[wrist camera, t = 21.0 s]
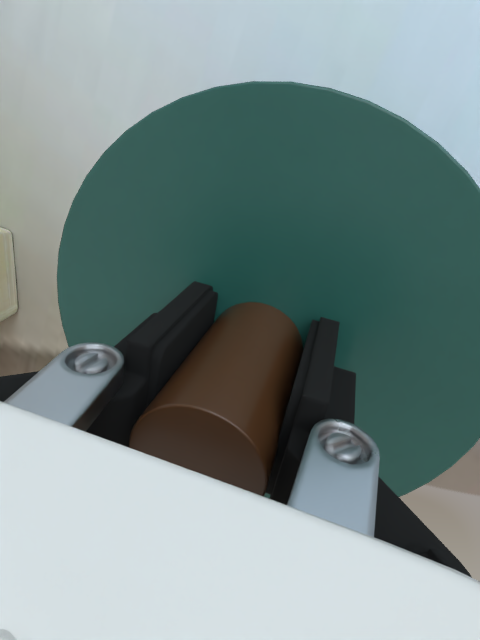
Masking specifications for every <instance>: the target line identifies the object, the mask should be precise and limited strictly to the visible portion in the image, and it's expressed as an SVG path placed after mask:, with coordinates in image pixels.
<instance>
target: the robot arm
mask: <svg viewBox="0 0 480 640" xmlns="http://www.w3.org/2000/svg"><path fill="white" fill-rule="evenodd" d="M217 299H218V293H217V292H214V291H213V287H212V286H210V285H207V284H203V283H200V282H196V281H194V282H192V283H191V284H190V285H189V286H188V287H187V288H186V289H184V290H183V291H182V292H181V293H180V294H179V295H178V296H177V297H175V298H174V299H173V300H172V301H171V302H170V303H169V304H167V305H166V306H165V307H164V308H163V309H162V310H161V311H159V312H158V313H153V314H151V315H150V316H149V317H148V318H147V319H145V320H144V321H143V322H142V323H141V324H140V325H138V326H137V327H136V328H135V329H134V330H133V331H132V332H130V333H129V334H128V335H127V336H126V337H125V338H123V339H122V340H121V341H120V342H119V343H118V344H116V345H115V346H114V347H113V346H110V345H107V344H103V343H81V344H77V345H74V346H71V347H69V348H67V349H65V350H64V351H62V352H61V353H60V354H59V355H58V356H57V357H55V358H54V359H53V360H52V361H51V362H50V363H48V364H47V365H46V366H45V367H44V368H43V369H41V370H40V371H38V372H31V373H24V374H17V375H10V376H3V377H0V640H480V581H477V580H475V579H473V578H472V577H471V575H470V574H469V572H468V571H467V570H466V569H465V567H464V566H463V565H462V564H461V562H460V561H459V560H458V559H457V558H456V557H455V556H454V555H453V554H452V553H451V552H450V551H449V550H448V549H447V548H446V547H445V546H444V544H442V542H441V541H440V540H438V538H437V537H436V536H435V535H434V534H433V533H432V532H431V531H430V530H429V529H428V528H427V527H426V526H425V525H424V523H422V521H420V519H419V518H418V517H417V516H416V515H415V514H414V513H413V512H412V511H411V510H410V509H409V508H408V507H407V506H406V505H405V504H404V503H403V501H401V499H400V498H399V497H398V496H397V495H396V494H395V493H394V492H393V491H392V490H391V489H390V488H389V487H388V486H387V485H386V484H385V483H384V482H383V480H382V479H381V478H380V477H379V476H378V474H379V461H380V454H379V448H378V447H377V445H376V443H375V441H374V440H373V439H372V438H371V436H370V435H369V434H368V433H367V432H365V431H364V430H362V429H361V428H360V427H358V426H356V425H354V419H355V390H356V373H355V372H352V371H348V370H345V369H342V368H338V367H335V366H334V362H335V354H336V347H337V339H338V331H339V324H340V322H338V321H334V320H331V319H327V318H324V317H321V318H320V321H316V320H313V319H312V322H311V325H310V329H309V332H308V336H307V339H306V342H305V346H304V349H303V352H302V356H301V360H300V363H299V367H298V370H297V374H296V377H295V381H294V384H293V388H292V392H291V395H290V399H289V402H288V406H287V409H286V413H285V416H284V420H283V424H282V427H281V431H280V434H279V442H278V449H277V452H276V456H275V460H274V463H273V467H272V471H271V474H270V478H269V482H268V485H267V489H266V493H267V494H270V498H266V497H263V496H261V495H258V494H255V493H253V492H250V491H247V490H244V489H242V488H239V487H236V486H233V485H231V484H228V483H225V482H222V481H220V480H217V479H214V478H211V477H209V476H206V475H203V474H200V473H198V472H195V471H192V470H189V469H186V468H184V467H181V466H178V465H175V464H173V463H170V462H167V461H164V460H162V459H159V458H156V457H153V456H151V455H148V454H145V453H142V452H140V451H137V450H134V449H131V448H129V439H130V434H131V431H132V428H133V426H134V424H135V423H136V421H137V420H138V419H139V417H140V416H141V415H142V414H143V412H144V411H145V410H146V409H147V407H148V406H149V405H150V403H151V402H152V401H153V400H154V398H155V397H156V396H157V395H158V393H159V392H160V391H161V389H162V388H163V387H164V386H165V384H166V383H167V382H168V381H169V379H170V378H171V377H172V375H173V374H174V373H175V372H176V370H177V369H178V368H179V367H180V365H181V364H182V363H183V361H184V360H185V359H186V358H187V356H188V355H189V354H190V353H191V351H192V350H193V349H194V347H195V346H196V345H197V344H198V342H199V341H200V340H201V339H202V337H203V336H204V335H205V333H206V332H207V331H208V330H209V328H210V327H211V326H212V325H213V323H214V317H215V311H216V305H217Z"/></svg>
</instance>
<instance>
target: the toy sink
mask: <svg viewBox="0 0 480 640" xmlns="http://www.w3.org/2000/svg"><path fill="white" fill-rule="evenodd" d="M17 310H18V304H17V289H16V276H15V263H14V252H13V240H12V233H11V232H10V231H9V230H7V229H4V228H0V322H1V321H2V320H4V319H6V318H8V317H9V316H12V315H13V314H15V313H16V312H17Z"/></svg>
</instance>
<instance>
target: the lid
mask: <svg viewBox="0 0 480 640" xmlns="http://www.w3.org/2000/svg"><path fill="white" fill-rule="evenodd" d="M194 281H196V282H200V283H203V284H207V285H210V286H212V287H213V291H214V292H217V293H218V299H217V305H216V311H215V317H214V323H213V325H212V326H211V327H210V328H209V330H208V331H207V332H206V333H205V335H204V336H203V337H202V339H201V340H200V341H199V342H198V344H197V345H196V346H195V347H194V349H193V350H192V351H191V353H190V354H189V355H188V356H187V358H186V359H185V360H184V361H183V363H182V364H181V365H180V367H179V368H178V369H177V370H176V372H175V373H174V374H173V375H172V377H171V378H170V379H169V381H168V382H167V383H166V384H165V386H164V387H163V388H162V389H161V391H160V392H159V393H158V395H157V396H156V397H155V398H154V400H153V401H152V402H151V403H150V405H149V406H148V407H147V409H146V410H145V411H144V412H143V414H142V415H141V416H140V417H139V419H138V420H137V421H136V423H135V424H134V426H133V428H132V431H131V434H130V439H129V448H131V449H134V450H137V451H140V452H142V453H145V454H148V455H151V456H153V457H156V458H159V459H162V460H164V461H167V462H170V463H173V464H175V465H178V466H181V467H184V468H186V469H189V470H192V471H195V472H198V473H200V474H203V475H206V476H209V477H211V478H214V479H217V480H220V481H222V482H225V483H228V484H231V485H233V486H236V487H239V488H242V489H244V490H247V491H250V492H253V493H255V494H258V495H261V496H263V497H266V498H270V494H267V493H266V489H267V485H268V482H269V478H270V474H271V471H272V467H273V463H274V460H275V456H276V452H277V449H278V442H279V434H280V431H281V427H282V424H283V420H284V416H285V413H286V409H287V406H288V402H289V399H290V395H291V392H292V388H293V384H294V381H295V377H296V374H297V370H298V367H299V363H300V360H301V356H302V352H303V349H304V346H305V342H306V339H307V336H308V332H309V329H310V325H311V322H312V319H313V320H316V321H320V318H321V317H324V318H327V319H331V320H334V321H338V322H340V324H339V331H338V339H337V347H336V354H335V362H334V366H335V367H338V368H342V369H345V370H348V371H352V372H355V373H356V390H355V419H354V425H356V426H358V427H360V428H361V429H362V430H364V431H365V432H367V433H368V434H369V435H370V436H371V438H372V439H373V440H374V441H375V443H376V445H377V447H378V448H379V454H380V461H379V474H378V476H379V477H380V478H381V479H382V480H383V482H384V483H385V484H386V485H387V486H388V487H389V488H390V489H391V490H392V491H393V492H394V493H395V494H396V495H397V496H398V497H400V496H403V495H405V494H407V493H409V492H411V491H413V490H415V489H417V488H419V487H421V486H423V485H425V484H427V483H428V482H430V481H432V480H433V479H434V478H436V477H437V476H439V475H440V474H442V473H443V472H444V471H446V470H447V469H449V468H450V467H452V466H453V465H454V464H455V463H456V462H457V461H458V460H459V459H460V458H461V457H462V456H463V455H465V454H466V453H467V452H468V451H469V450H470V449H471V448H472V447H473V446H474V445H475V443H476V442H477V441H478V440H479V438H480V188H479V187H478V185H477V184H476V183H475V181H474V180H473V179H472V177H471V176H470V174H469V173H468V172H467V171H466V170H465V169H464V168H463V167H462V166H461V165H460V164H459V163H458V162H457V161H456V160H455V159H454V158H453V157H452V156H451V155H450V154H449V153H448V152H447V151H446V150H445V149H444V148H443V147H442V146H441V145H440V144H439V143H438V142H436V141H435V140H434V139H432V138H431V137H429V136H428V135H427V134H425V133H424V132H422V131H421V130H420V129H418V128H417V127H416V126H414V125H413V124H411V123H410V122H409V121H407V120H406V119H404V118H402V117H400V116H398V115H396V114H394V113H392V112H390V111H388V110H386V109H384V108H382V107H380V106H378V105H376V104H374V103H372V102H370V101H368V100H365V99H362V98H359V97H356V96H353V95H350V94H347V93H344V92H340V91H337V90H334V89H331V88H326V87H320V86H314V85H308V84H302V83H295V82H258V81H252V82H245V83H239V84H232V85H225V86H218V87H214V88H211V89H207V90H204V91H201V92H198V93H195V94H191V95H188V96H185V97H182V98H180V99H178V100H176V101H174V102H172V103H170V104H168V105H166V106H164V107H162V108H160V109H158V110H156V111H154V112H152V113H150V114H149V115H148V116H146V117H145V118H143V119H142V120H141V121H139V122H138V123H136V124H135V125H134V126H132V127H131V128H129V129H128V130H126V131H125V132H124V133H123V134H122V135H121V136H120V137H119V138H118V139H117V140H116V141H115V142H114V143H113V144H112V145H111V146H110V147H109V148H108V149H107V150H106V151H105V152H104V153H103V154H102V156H101V157H100V158H99V160H98V161H97V162H96V164H95V165H94V166H93V168H92V169H91V170H90V172H89V173H88V174H87V176H86V178H85V180H84V181H83V183H82V185H81V187H80V189H79V191H78V193H77V194H76V196H75V198H74V200H73V203H72V205H71V208H70V211H69V214H68V216H67V219H66V222H65V225H64V229H63V234H62V238H61V243H60V248H59V255H58V268H57V288H58V303H59V309H60V314H61V320H62V326H63V329H64V332H65V336H66V339H67V343H68V346H69V347H71V346H74V345H77V344H81V343H103V344H107V345H110V346H113V347H114V346H115V345H116V344H118V343H119V342H120V341H121V340H122V339H123V338H125V337H126V336H127V335H128V334H129V333H130V332H132V331H133V330H134V329H135V328H136V327H137V326H138V325H140V324H141V323H142V322H143V321H144V320H145V319H147V318H148V317H149V316H150V315H151V314H153V313H158V312H159V311H161V310H162V309H163V308H164V307H165V306H166V305H167V304H169V303H170V302H171V301H172V300H173V299H174V298H175V297H177V296H178V295H179V294H180V293H181V292H182V291H183V290H184V289H186V288H187V287H188V286H189V285H190V284H191V283H192V282H194Z"/></svg>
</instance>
